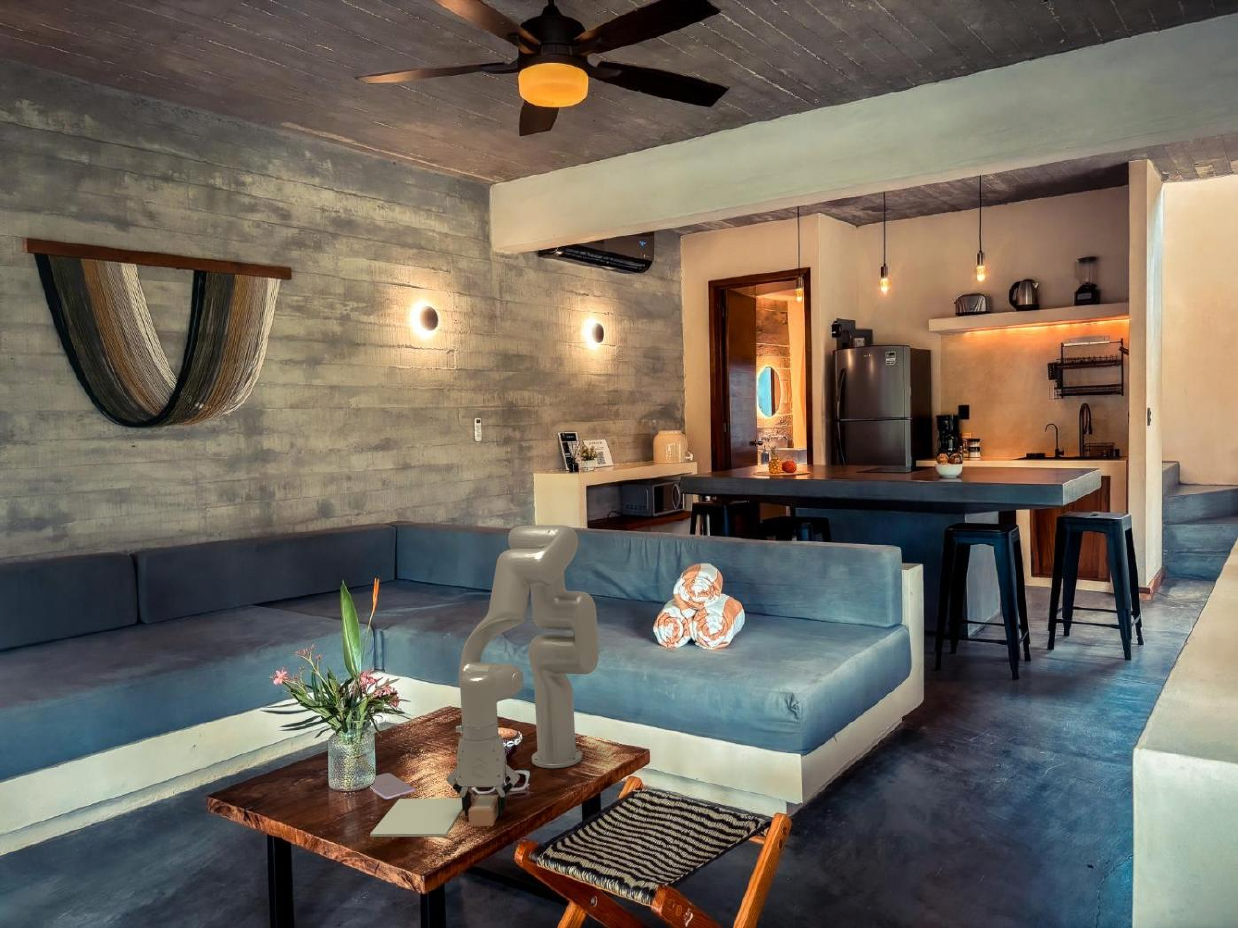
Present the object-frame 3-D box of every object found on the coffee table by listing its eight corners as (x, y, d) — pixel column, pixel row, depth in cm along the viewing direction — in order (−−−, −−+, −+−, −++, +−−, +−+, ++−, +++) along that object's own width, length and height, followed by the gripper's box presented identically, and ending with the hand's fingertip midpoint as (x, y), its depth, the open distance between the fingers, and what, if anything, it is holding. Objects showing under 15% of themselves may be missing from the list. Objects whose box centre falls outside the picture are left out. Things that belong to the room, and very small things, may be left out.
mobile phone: (385, 797, 210) (359, 779, 222) (386, 801, 210) (359, 783, 222) (416, 787, 215) (389, 771, 227) (416, 792, 215) (389, 774, 227)
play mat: (399, 801, 209) (399, 798, 209) (468, 800, 207) (468, 798, 207) (370, 836, 191) (370, 833, 191) (445, 836, 189) (445, 833, 189)
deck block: (477, 811, 202) (477, 794, 202) (500, 811, 202) (499, 794, 201) (469, 827, 194) (468, 809, 194) (492, 826, 194) (491, 809, 193)
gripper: (435, 737, 194) (440, 820, 195) (516, 736, 192) (521, 820, 193) (445, 725, 202) (450, 806, 202) (523, 724, 200) (528, 805, 201)
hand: (484, 812), depth 198 cm, fingers open, 6 cm apart
